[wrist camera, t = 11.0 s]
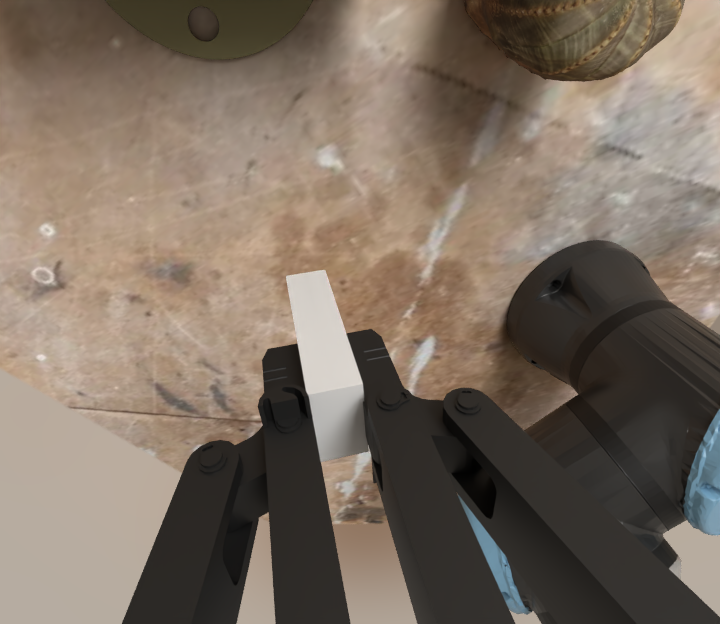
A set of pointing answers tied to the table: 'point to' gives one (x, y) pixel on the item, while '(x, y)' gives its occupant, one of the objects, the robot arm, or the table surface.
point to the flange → (235, 16)
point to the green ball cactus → (575, 33)
